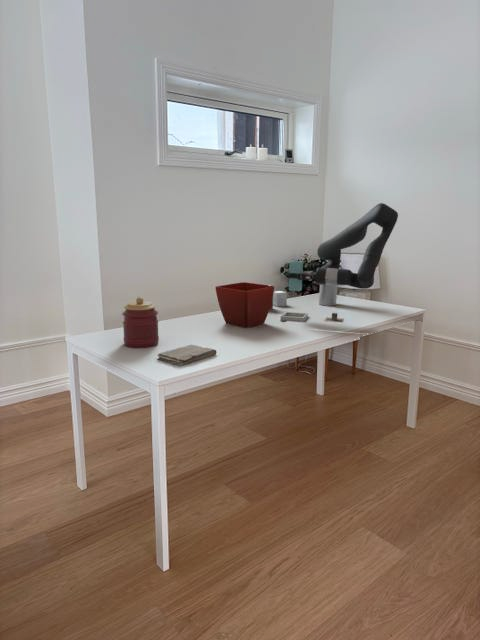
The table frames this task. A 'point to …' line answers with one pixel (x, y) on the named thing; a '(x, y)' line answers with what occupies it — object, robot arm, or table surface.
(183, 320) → the table surface
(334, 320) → the square wooden base
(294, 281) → the teal square tube
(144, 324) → the canister
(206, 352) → the washcloth
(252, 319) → the plant pot
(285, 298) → the skincare box
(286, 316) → the tray
